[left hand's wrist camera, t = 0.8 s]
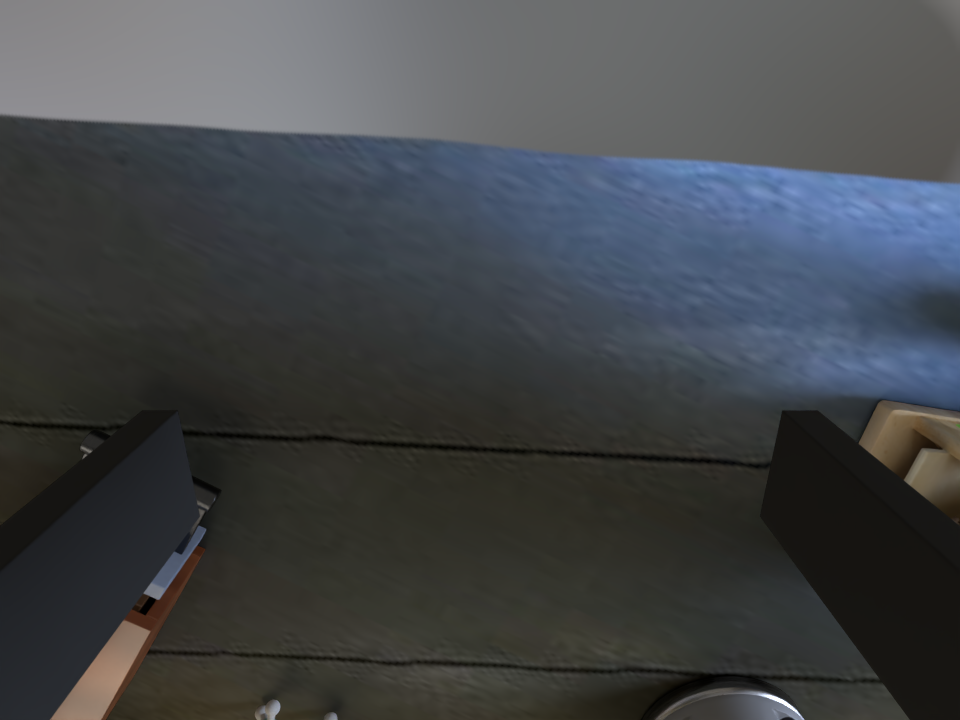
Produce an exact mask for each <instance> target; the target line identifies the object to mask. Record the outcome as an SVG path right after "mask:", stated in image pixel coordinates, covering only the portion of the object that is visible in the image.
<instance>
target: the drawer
mask: <svg viewBox="0 0 960 720" xmlns="http://www.w3.org/2000/svg"><path fill="white" fill-rule="evenodd" d="M109 437H110V435H108V434H106V433H104V432H102V431H99V430H97V429H94V430H93V431H91V432H90V433H89V434H88V435H87V436H86V437H85V439H84V440H83V442H82V444H81V446H80V451H81V452H83V453H84V454H83V457H82V459H83V458H84V457H86V456H87V455H88V454H89V453H91V452H92V451H93V450H94V449H96V448H97V447H98V446H99V445H101V444H102V443H103V442H104V441H105V440H107V439H108V438H109ZM82 459H81V460H82ZM191 476H192V475H191ZM192 480H193V485H194V490H195V495H196V499H197V504H198V509H199V514H200V517H199V519H198V520H197V521H196V523H195V524H194V525H193V527H192V528H191V529H190V531H189V532H188V534H187V535H186V536H185V538H184V539H183V540H182V542H181V543H180V544H179V546H178V547H177V548H176V550H175V551H174V552H173V554H172V555H171V557H170V558H169V559H168V561H167V562H166V563H165V565H164V566H163V567H162V569H161V570H160V571H159V573H158V574H157V576H156V577H155V578H154V580H153V581H152V582H151V584H150V585H149V586H148V588H147V589H146V590H145V592H144V593H143V594H142V596H141V597H140V599H139V600H138V601H137V603H136V604H135V605H134V607H133V608H132V610H134V611H136V612H139V613H141V614H143V615H146V614H147V612H148V611H149V609H150V608H151V606H152V605H153V603H154V601H155V599H157V600H159V599H160V598H161V597H162V595H163V594H164V592H165V591H166V589H167V588H168V587H169V585H170V584H171V582H172V581H173V579H174V578H175V576H176V575H177V574H178V572H179V571H180V569H181V568H182V566H183V565H184V564H185V562H186V561H187V559H188V558H189V556H190V555H191V553H192V552H193V551H194V549H195V548H196V546H197V545H198V543H199V542H200V540H201V539H202V537H203V535H204V534H205V532H206V529H205V528H203V527H201V526H199V524H200V522H201V520H202V519H203V517H204V515H205V513H206V511H207V512H208V511H210V509H211V508H212V507H213V505H214V504H215V502H216V500H217V499H218V497H219V495H220V493H221V490H220V489H218V488H216V487H214V486H212V485H210V484H208V483H206V482H204V481H202V480H200V479H198V478H196V477H194V476H192Z"/></svg>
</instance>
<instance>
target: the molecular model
mask: <svg viewBox="0 0 960 720" xmlns="http://www.w3.org/2000/svg"><path fill="white" fill-rule="evenodd" d="M279 710H280V703H279V702H278V701H277V700H274V699H273V700H270V701H269V702H268V703H267V704H266V705H261V706H259V707H258V708H257V710H256V712H255V717H256V719H257V720H276V719H275V715H276V714H277V713H278V712H279ZM324 720H337V715H336V714H335V713H334V712H329V713H327V714H326V715H325V717H324Z"/></svg>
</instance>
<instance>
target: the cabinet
mask: <svg viewBox="0 0 960 720" xmlns="http://www.w3.org/2000/svg"><path fill="white" fill-rule="evenodd" d="M204 551H205V549H204V548H202V547H200V546H198V545H197V546H196V548H195V549H194V551H193V552H192V553H191V555H190V556H189V558H188V559H187V561H186V562H185V564H184V565H183V566H182V568H181V569H180V571H179V572H178V574H177V575H176V576H175V578H174V579H173V581H172V582H171V584H170V585H169V587H168V588H167V589H166V591H165V592H164V594H163V595H162V597H161V598H160V599H159V600H157V599H155V601H154V603H153V605H152V606H151V608H150V609H149V611H148V612H147V614H146V615H143V614H141V613H139V612H136V611H134V610H132V609H131V611H130V612H129V613H128V615H127V616H126V618H125V619H124V620H123V622H122V623H121V624H120V626H119V627H118V628H117V630H116V631H115V632H114V634H113V635H112V636H111V638H110V639H109V641H108V642H107V643H106V645H105V646H104V647H103V649H102V650H101V651H100V653H99V654H98V655H97V657H96V658H95V660H94V661H93V662H92V664H91V665H90V666H89V668H88V669H87V670H86V672H85V673H84V674H83V676H82V677H81V679H80V680H79V681H78V683H77V684H76V685H75V687H74V688H73V689H72V691H71V692H70V693H69V695H68V696H67V697H66V699H65V700H64V702H63V703H62V704H61V706H60V707H59V708H58V710H57V711H56V712H55V714H54V715H53V716H52V718H51V719H50V720H106V719H107V717H108V716H109V714H110V712H111V711H112V709H113V708H114V706H115V705H116V703H117V702H118V700H119V699H120V697H121V695H122V694H123V692H124V691H125V689H126V688H127V686H128V685H129V683H130V681H131V680H132V678H133V677H134V675H135V674H136V672H137V670H138V668H139V666H140V665H141V663H142V661H143V659H144V658H145V656H146V654H147V652H148V651H149V649H150V647H151V645H152V643H153V642H154V640H155V638H156V636H157V635H158V633H159V631H160V629H161V628H162V626H163V624H164V622H165V620H166V619H167V617H168V615H169V613H170V612H171V610H172V608H173V606H174V604H175V603H176V601H177V599H178V597H179V596H180V594H181V592H182V590H183V589H184V587H185V585H186V583H187V581H188V580H189V578H190V576H191V574H192V573H193V571H194V569H195V567H196V566H197V564H198V562H199V560H200V558H201V557H202V555H203V553H204Z"/></svg>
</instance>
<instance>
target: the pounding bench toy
mask: <svg viewBox="0 0 960 720" xmlns="http://www.w3.org/2000/svg"><path fill="white" fill-rule="evenodd" d="M858 444H859V445H861V446H862V447H863V448H864V449H866V450H867V451H868V452H869V453H871V454H872V455H873V456H874V457H876V458H877V459H878V460H879V461H880V462H882V463H883V464H884V465H885V466H887V467H888V468H889V469H890V470H892V471H893V472H894V473H895V474H897V475H898V476H899V477H900V478H901V479H903V480H904V481H905V482H906V483H908V484H909V485H910V486H911V487H913V488H914V489H915V490H916V491H917V492H919V493H920V494H921V495H922V496H924V497H925V498H926V499H927V500H929V501H930V502H931V503H932V504H934V505H935V506H936V507H937V508H938V509H940V510H941V511H942V512H943V513H945V514H946V515H947V516H948V517H950V518H951V519H952V520H953V521H955V522H956V523H957V524H958V525H959V526H960V412H957V411H951V410H943V409H937V408H931V407H925V406H919V405H913V404H906V403H900V402H893V401H886V400H882V401H880V402H879V403H878V405H877V407H876V409H875V411H874V413H873V415H872V417H871V419H870V421H869V423H868V425H867V427H866V429H865V431H864V433H863V435H862V437H861V439H860V441H859V443H858Z"/></svg>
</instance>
